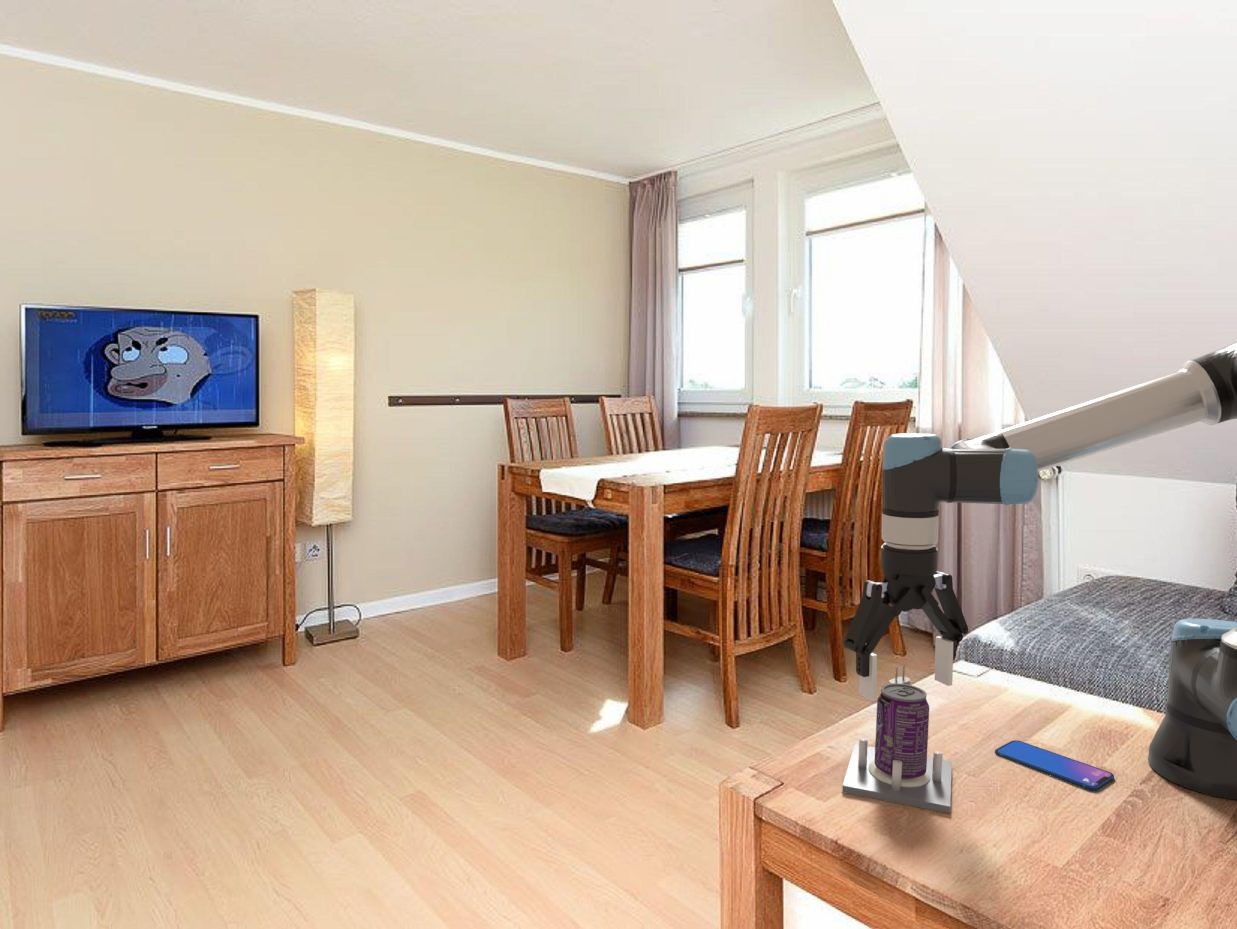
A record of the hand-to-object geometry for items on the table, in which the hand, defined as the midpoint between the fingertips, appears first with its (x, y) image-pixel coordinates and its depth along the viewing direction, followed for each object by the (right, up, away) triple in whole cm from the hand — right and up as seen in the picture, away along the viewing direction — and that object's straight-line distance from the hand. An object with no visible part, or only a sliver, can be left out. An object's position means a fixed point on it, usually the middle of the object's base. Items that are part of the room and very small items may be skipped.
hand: (906, 690), depth 116 cm
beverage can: (0, -12, +2) cm, 12 cm away
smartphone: (+24, -14, +6) cm, 29 cm away
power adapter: (+4, -12, +15) cm, 20 cm away
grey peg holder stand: (-1, -13, +2) cm, 14 cm away
